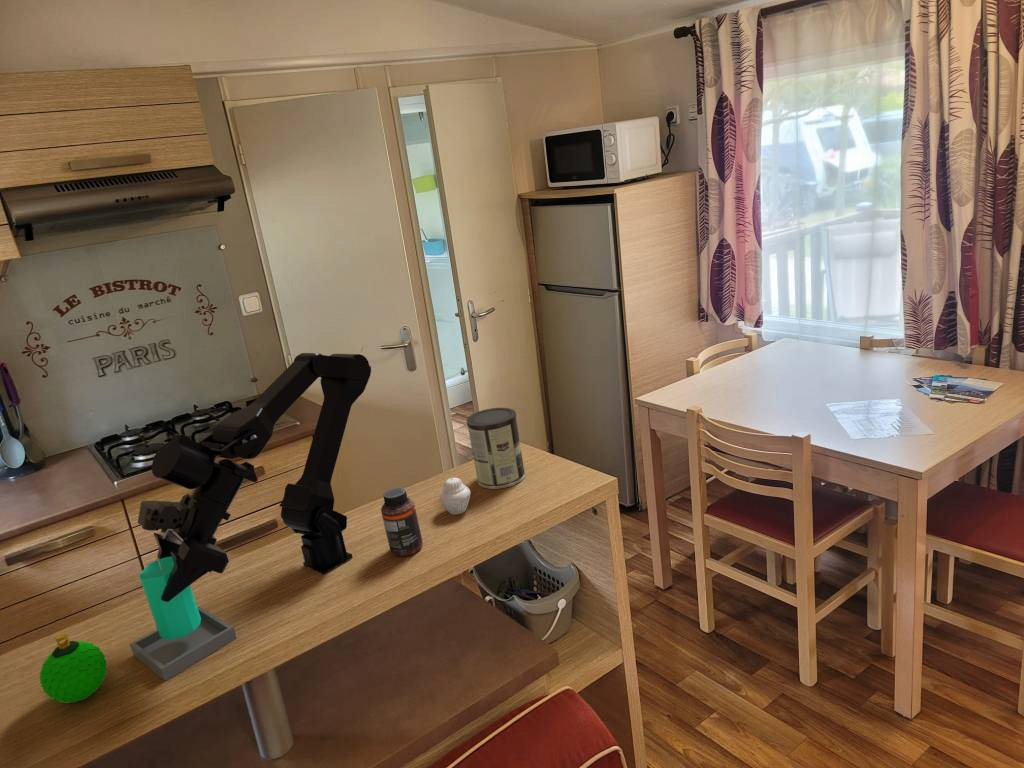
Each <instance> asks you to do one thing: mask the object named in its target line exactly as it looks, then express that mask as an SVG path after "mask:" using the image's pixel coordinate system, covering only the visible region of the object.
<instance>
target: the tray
mask: <svg viewBox="0 0 1024 768" xmlns="http://www.w3.org/2000/svg"><path fill="white" fill-rule="evenodd" d="M197 607H198V611H199V614H200V617H201V622H200V625H199V626H198V627H197V628H196V629H195V630H194V631H192V632H191V633H189V634H187V635H185V636H183V637H180V638H176V639H173V640H172V639H163V638H162V637H161V636H160V635H159V632H158V629H157V628H156V629H154V630H153V631H151V632H149V633H148V634H146V635H143V636H142V637H140V638H138V639H136V640H134V641H133V642H132V643H129V647H130V650H131V651H132V654H133V656H134V657H135V659H138V661H140V662H141V663H142V664H143V665H145V666H147V668H148V669H150V670H151V671H153V672H154V674H156V675H158V677H160V678H161V679H162V680H164V681H165V682H167V681H168V680H170V679H171V678H173V677H175V676H176V675H178V674H180V673H182V672H183V671H185V670H186V669H188V668H190V667H191V666H193V665H194V664H196V663H198V662H200V661H201V660H204V658H206V657H208V656H209V655H211V654H213V653H214V652H217V651H218V650H219V649H221V648H223V647H224V646H226V645H228V644H229V643H232V642H233V641H234V640H236V639H237V635H236V631H235V627H234V626H233V625H231V624H229V623H227V622H226V621H225V620H223V619H221V618H219V617H218V616H216V615H214V614H213V613H211V612H209V611H208V610H206V609H204V608H203V607H201V606H200V605H199V606H198V605H197Z"/></svg>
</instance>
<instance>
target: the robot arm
mask: <svg viewBox="0 0 1024 768" xmlns="http://www.w3.org/2000/svg"><path fill="white" fill-rule="evenodd" d="M371 374H372V366H371V365H370V363H369V360H368V359H367V358H366V356H365V355H363V354H360V353H332V354H330V355H325V354H322V353H320V352H301V353H300V354H298V355H295V357H294V359H293V362H292V363H291V364H290V365H289V366H288V367H287V368H286V369H285V370H284V371H283V372H281V374H280V375H279V376H278V377H277V378H276V379H275V380H274V381H273V382H272V383H271V384H270V385H269V386H268V387H267V388H266V389H265V390H264V391H263V392H262V393H261V394H260V395H259V396H258V397H257V398H256V399H255V400H254V401H253V402H252V403H250V404H249V405H248V406H246V407H243V408H241V409H239V410H237V411H235V412H232V414H231V413H230V414H229V415H228V416H226V417H225V418H224V419H222V420H221V421H220V422H218V423H217V424H216V425H215V427H214V428H213V430H212V432H211V433H209V434H208V435H206V436H205V437H203V438H202V439H200V440H199V441H198V442H197V441H195V440H194V439H191V438H190V437H188V436H186V435H184V434H181V433H174V434H173V435H172V437H171V440H169V441H168V442H166V443H164V444H163V445H162V447H161V448H160V449H159V450H158V452H156V453H155V455H154V457H153V458H152V463H151V472H152V475H153V477H155V478H157V479H160V480H162V481H165V482H167V483H171V484H174V485H176V486H179V487H182V488H185V489H187V490H193V491H192V493H191V494H190V493H188V492H186V493H185V494H184V495H183V496H182V498H181V499H180V500H179V501H169V500H141V502H140V508H139V513H138V519H137V524H138V525H140V526H141V528H142V529H143V530H146V531H153V537H154V538H155V541H156V543H157V546H158V551H157V557H156V560H158V559H161V558H166V557H171V556H172V558H173V562H174V567H173V569H172V572H171V574H170V576H169V579H168V582H167V585H166V587H165V589H164V591H163V594H162V597H161V600H162V601H165V602H169V601H170V600H171V599H173V598H174V597H175V596H176V595H178V594H179V593H180V592H182V591H183V590H184V589H185V588H187V587H188V586H189V585H190V586H191V585H192V584H193V583H194V582H196V581H197V580H199V579H200V578H202V577H203V576H205V575H206V574H207V573H212V572H215V573H217V574H223V573H224V571H225V570H226V568H227V566H228V564H229V562H230V561H229V560H230V559H229V558H228V555H227V553H226V551H224V550H223V549H222V548H221V547H220V546H217V545H215V544H216V543H217V541H218V539H217V538H216V537H215V534H216V533H217V530H218V528H219V527H220V525H221V524H222V521H223V520H225V521H229V518H230V517H231V514H230V513H229V512H228V510H229V508H230V506H231V505H232V503H233V501H234V499H235V497H236V496H237V494H238V492H239V490H240V488H241V486H242V485H243V483H244V480H247V481H250V482H253V483H257V482H258V480H259V479H258V477H257V475H256V472H255V465H253V463H250V462H248V461H245V462H241V463H239V462H238V463H237V462H235V461H233V460H234V459H241V460H242V459H243V460H249V459H250V460H252V459H255V458H257V457H258V456H259V455H260V454H261V453H262V452H263V450H264V449H265V448H266V446H267V444H268V443H269V441H270V440H271V439H272V436H273V432H274V427H275V425H276V423H277V422H278V421H279V420H280V419H281V418H282V416H283V415H285V414H286V413H287V411H288V410H289V409H291V407H292V406H293V405H294V404H295V403H296V402H297V400H298V399H299V398H301V396H302V395H303V394H304V393H305V392H306V391H307V390H308V389H309V388H311V386H312V385H313V384H314V382H316V380H317V379H318V378H320V386H321V390H322V394H323V400H322V401H323V402H322V405H321V407H320V408H321V409H320V412H319V416H318V420H317V421H316V426H315V430H314V433H313V437H312V440H311V444H310V447H309V451H308V454H307V458H306V461H305V465H304V468H303V472H302V475H301V477H300V478H299V479H298V480H297V481H296V482H295V483H287V484H286V485H285V489H284V494H283V498H282V501H280V504H279V507H280V508H281V510H280V511H281V512H280V518H281V519H282V521H283V523H284V524H285V526H286V527H287V528H290V529H291V530H292V531H293V533H295V534H301V536H300V538H301V542H302V545H300V546H301V547H300V549H301V552H302V556H303V559H304V561H303V563H302V564H303V566H304V567H306V568H308V569H310V570H313V571H315V572H317V573H320V574H322V575H325V574H328V573H329V572H330V571H332V570H334V569H335V568H337V567H339V566H340V565H343V563H346V562H347V561H350V560H351V559H352V558H353V554H352V553H350V552H347V548H346V544H345V540H344V535H343V531H344V530H346V529H347V526H348V517H347V516H346V514H342V513H340V512H338V511H335V510H334V505H335V497H334V492H333V487H332V483H331V482H332V479H333V478H332V477H333V474H334V470H335V467H336V464H337V460H338V456H339V454H340V453H339V452H340V448H341V444H342V441H343V438H344V433H345V431H346V427H347V424H348V420H349V415H350V411H351V409H352V407H353V404H354V403H355V402H356V401H357V400H358V398H360V396H361V395H362V394H363V393H364V392H365V390H366V387H367V385H368V383H369V380H370V378H371ZM216 458H223V459H221V460H219V461H217V460H216ZM159 530H160V531H159ZM155 531H159V533H157V532H155ZM157 558H158V559H157Z"/></svg>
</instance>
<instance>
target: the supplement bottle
mask: <svg viewBox="0 0 1024 768" xmlns="http://www.w3.org/2000/svg"><path fill="white" fill-rule="evenodd" d="M383 501H384V503H383V504H382V506H381V509H380V510H381V516H382V521H383V526H384V530H385V534H386V538H387V543H388V547H389V551H390V553H391V554H392V555H394V556H396V557H405V556H406V557H407V556H410V555H413V554H415V553H417V552H418V551H420V549H422V547H423V545H424V543H423V537H422V533H421V529H420V523H419V518H418V513H417V509H416V505H415V502H414V500H413V499H412V498H410V497H408V494H407V490H406V488H404V487H393V488H390V489H388V490H385V492H383Z"/></svg>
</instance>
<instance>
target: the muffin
mask: <svg viewBox="0 0 1024 768" xmlns="http://www.w3.org/2000/svg"><path fill="white" fill-rule="evenodd" d="M438 495H439V496H438V498H439V501H440V502H441V505H443V507H444V508H445V509H446V511H447V512H448V513H449V514H450V515H456V516H457V515H461V514H463V513H465V511H467V508H468V505H469V502H470V499H471V489H470V488H469V487H468V486H467V485H465V484H464V483H463V481H462V479H460V478H458V477H451V478H447V479H446V480H445V481H444V483H443V488H442V489H441V491H440V492H439V494H438Z"/></svg>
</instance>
